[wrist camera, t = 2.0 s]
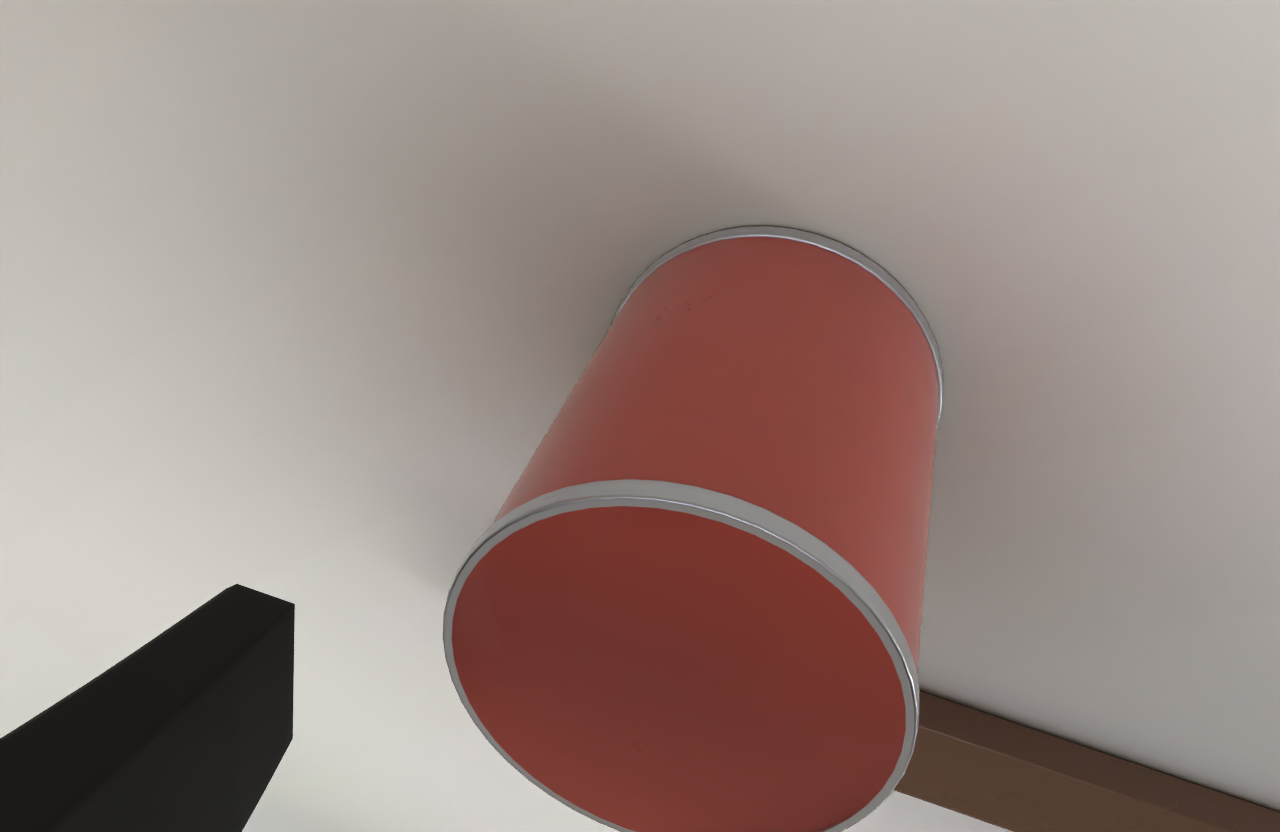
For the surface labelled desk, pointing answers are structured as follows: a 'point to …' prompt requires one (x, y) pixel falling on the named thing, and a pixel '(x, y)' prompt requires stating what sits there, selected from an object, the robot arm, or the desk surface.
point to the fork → (1055, 781)
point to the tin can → (718, 551)
